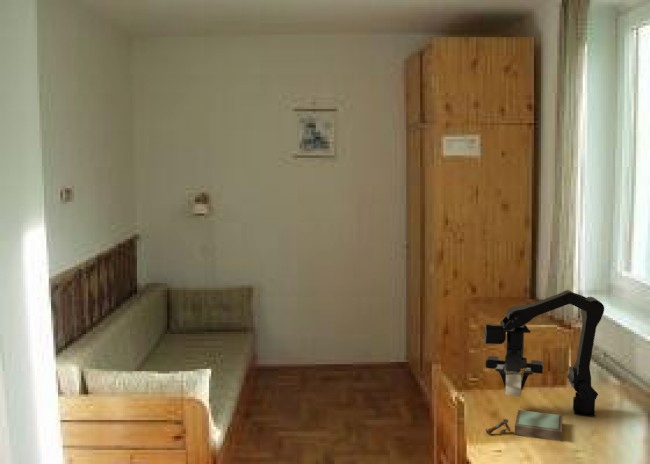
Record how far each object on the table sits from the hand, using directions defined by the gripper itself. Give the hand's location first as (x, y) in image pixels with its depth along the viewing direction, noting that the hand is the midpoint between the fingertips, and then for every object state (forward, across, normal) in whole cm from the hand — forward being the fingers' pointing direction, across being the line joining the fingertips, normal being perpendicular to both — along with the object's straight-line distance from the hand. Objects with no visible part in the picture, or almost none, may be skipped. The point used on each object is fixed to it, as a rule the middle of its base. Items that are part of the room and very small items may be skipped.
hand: (513, 388), depth 235 cm
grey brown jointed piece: (+8, -3, -21) cm, 23 cm away
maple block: (+2, 0, 0) cm, 2 cm away
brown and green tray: (+8, +9, -14) cm, 18 cm away
